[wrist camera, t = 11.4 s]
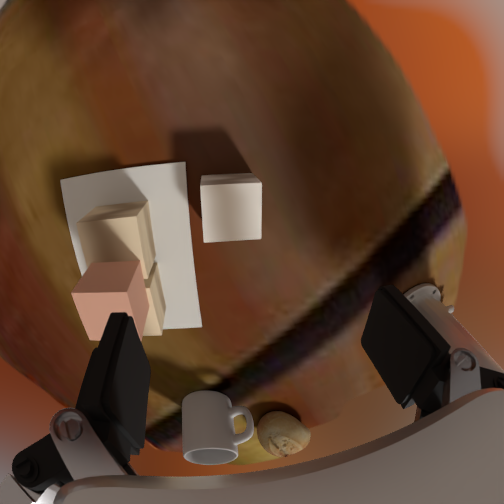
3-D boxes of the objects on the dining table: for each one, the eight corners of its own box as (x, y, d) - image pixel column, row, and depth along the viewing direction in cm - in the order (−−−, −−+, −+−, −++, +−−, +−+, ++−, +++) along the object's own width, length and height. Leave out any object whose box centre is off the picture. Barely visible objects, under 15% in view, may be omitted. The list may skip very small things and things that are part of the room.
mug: (198, 418, 44) (201, 467, 34) (172, 397, 40) (171, 453, 30) (256, 401, 43) (268, 453, 33) (236, 377, 39) (246, 437, 29)
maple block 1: (148, 200, 25) (136, 216, 21) (156, 254, 28) (147, 278, 24) (95, 206, 24) (76, 223, 20) (106, 258, 27) (91, 281, 23)
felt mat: (185, 161, 25) (185, 162, 24) (202, 325, 33) (202, 326, 33) (61, 179, 23) (60, 180, 22) (102, 328, 31) (101, 329, 31)
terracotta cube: (140, 260, 23) (126, 291, 18) (149, 306, 25) (141, 341, 20) (91, 262, 22) (71, 292, 17) (104, 306, 24) (90, 340, 20)
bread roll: (277, 437, 52) (285, 465, 45) (242, 419, 46) (248, 453, 39) (314, 421, 51) (324, 449, 44) (285, 401, 45) (295, 436, 38)
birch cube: (252, 173, 26) (261, 182, 22) (252, 220, 28) (261, 238, 24) (201, 175, 26) (200, 185, 21) (204, 223, 28) (203, 242, 23)
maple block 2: (157, 262, 28) (149, 288, 24) (166, 307, 31) (161, 335, 27) (108, 266, 28) (94, 290, 23) (120, 308, 30) (110, 335, 26)
